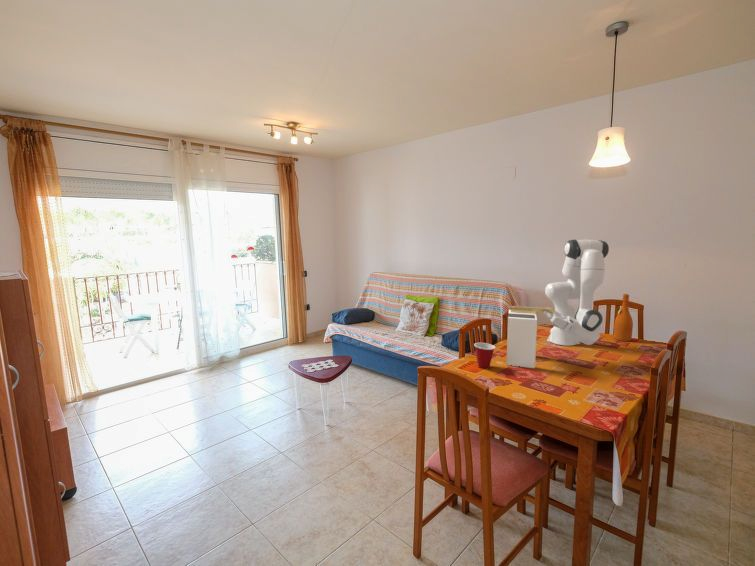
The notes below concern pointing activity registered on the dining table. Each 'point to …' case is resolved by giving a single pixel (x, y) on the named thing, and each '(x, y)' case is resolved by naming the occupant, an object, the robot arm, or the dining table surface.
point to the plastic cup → (484, 354)
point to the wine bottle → (623, 322)
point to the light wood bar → (531, 309)
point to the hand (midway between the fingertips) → (543, 310)
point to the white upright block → (521, 339)
